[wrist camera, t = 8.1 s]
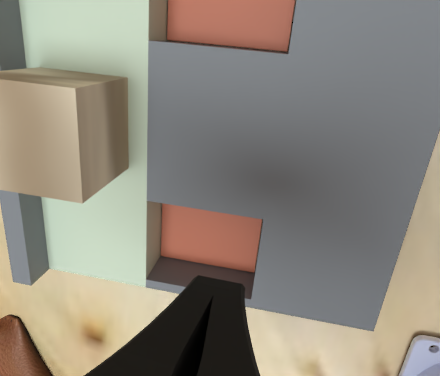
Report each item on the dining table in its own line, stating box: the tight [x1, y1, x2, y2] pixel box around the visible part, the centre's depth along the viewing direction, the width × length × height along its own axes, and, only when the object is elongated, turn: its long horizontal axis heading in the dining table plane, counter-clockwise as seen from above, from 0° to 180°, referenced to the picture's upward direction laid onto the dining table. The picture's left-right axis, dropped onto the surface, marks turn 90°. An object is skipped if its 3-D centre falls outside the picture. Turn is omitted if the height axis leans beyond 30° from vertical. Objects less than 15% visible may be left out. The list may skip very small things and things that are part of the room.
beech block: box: [0, 67, 129, 204], centre depth 14 cm, size 4×4×4 cm
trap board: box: [0, 0, 440, 331], centre depth 16 cm, size 18×17×4 cm
